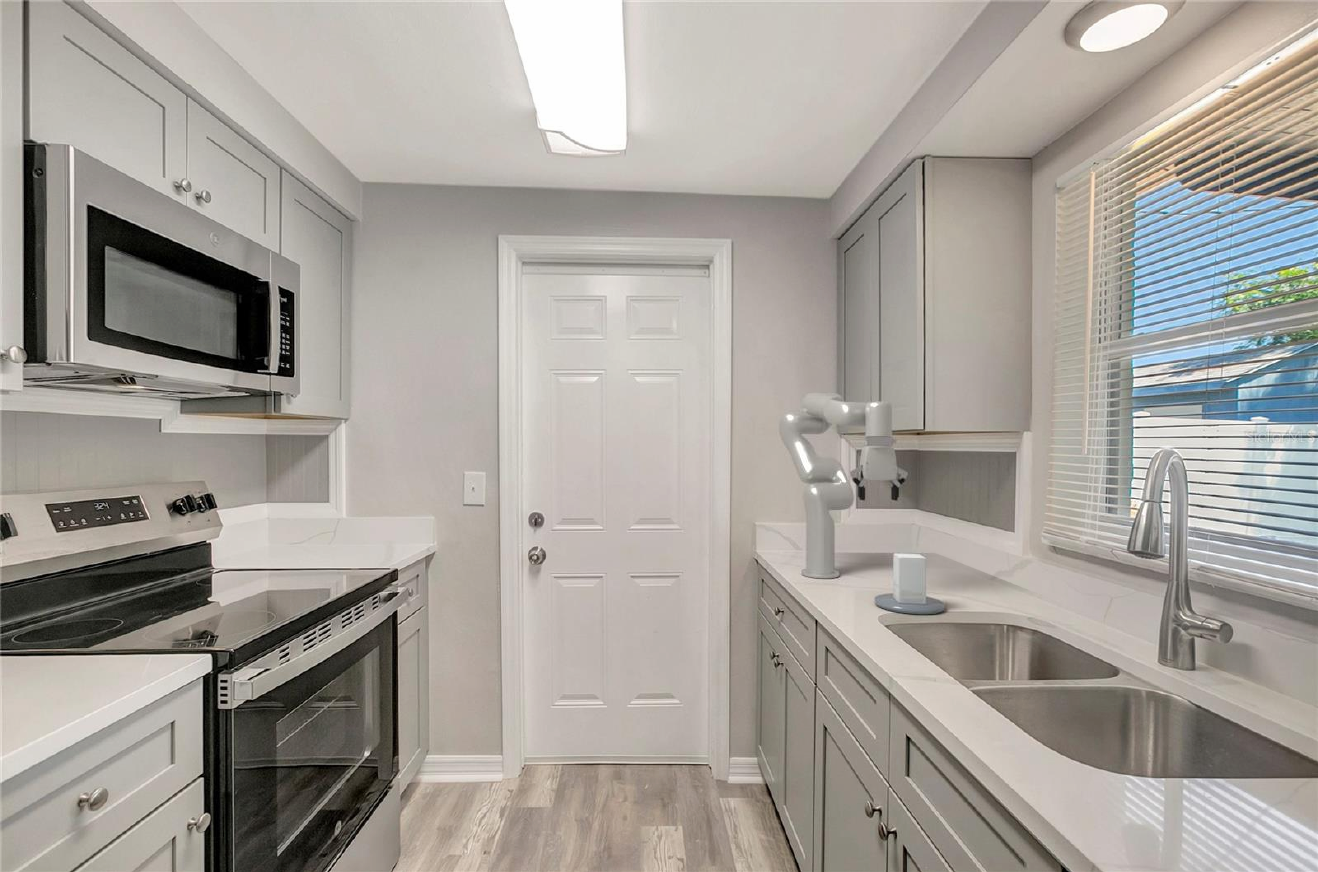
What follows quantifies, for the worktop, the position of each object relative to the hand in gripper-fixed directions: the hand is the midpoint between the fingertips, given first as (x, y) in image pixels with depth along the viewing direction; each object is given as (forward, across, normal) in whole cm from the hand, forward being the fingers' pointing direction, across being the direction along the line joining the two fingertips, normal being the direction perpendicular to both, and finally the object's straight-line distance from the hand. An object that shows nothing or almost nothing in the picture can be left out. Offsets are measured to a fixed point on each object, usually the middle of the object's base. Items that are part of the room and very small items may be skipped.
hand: (878, 500), depth 187 cm
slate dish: (+28, -4, +13) cm, 31 cm away
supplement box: (+27, -4, +13) cm, 30 cm away
